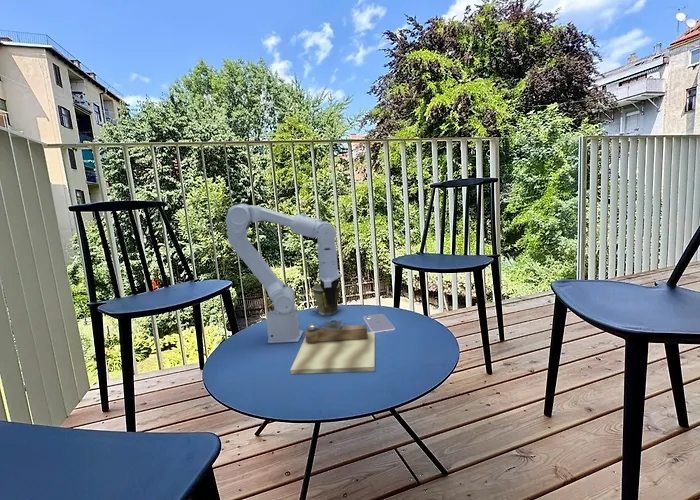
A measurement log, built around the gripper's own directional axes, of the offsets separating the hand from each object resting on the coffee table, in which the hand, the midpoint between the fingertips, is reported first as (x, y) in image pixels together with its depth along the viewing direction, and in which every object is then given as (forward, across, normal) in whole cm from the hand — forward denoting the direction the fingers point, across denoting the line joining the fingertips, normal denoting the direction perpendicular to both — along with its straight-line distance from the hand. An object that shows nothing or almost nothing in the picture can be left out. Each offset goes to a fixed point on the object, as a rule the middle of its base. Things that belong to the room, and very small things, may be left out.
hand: (331, 303), depth 116 cm
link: (+8, -9, -1) cm, 12 cm away
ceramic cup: (+10, +17, +3) cm, 20 cm away
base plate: (+9, -15, -2) cm, 18 cm away
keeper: (+8, -8, +2) cm, 11 cm away
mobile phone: (+10, +5, -14) cm, 18 cm away
